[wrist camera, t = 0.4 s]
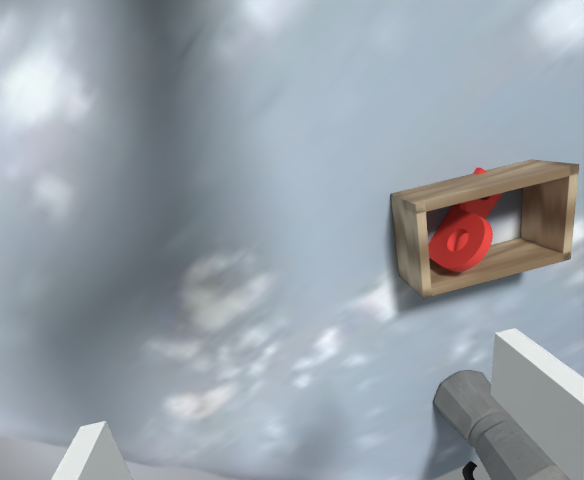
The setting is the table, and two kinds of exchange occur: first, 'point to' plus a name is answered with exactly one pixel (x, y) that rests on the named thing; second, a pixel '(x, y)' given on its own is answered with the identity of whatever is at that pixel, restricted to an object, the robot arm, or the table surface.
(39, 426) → the table surface
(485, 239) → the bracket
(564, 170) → the crate frame
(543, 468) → the coffeepot
